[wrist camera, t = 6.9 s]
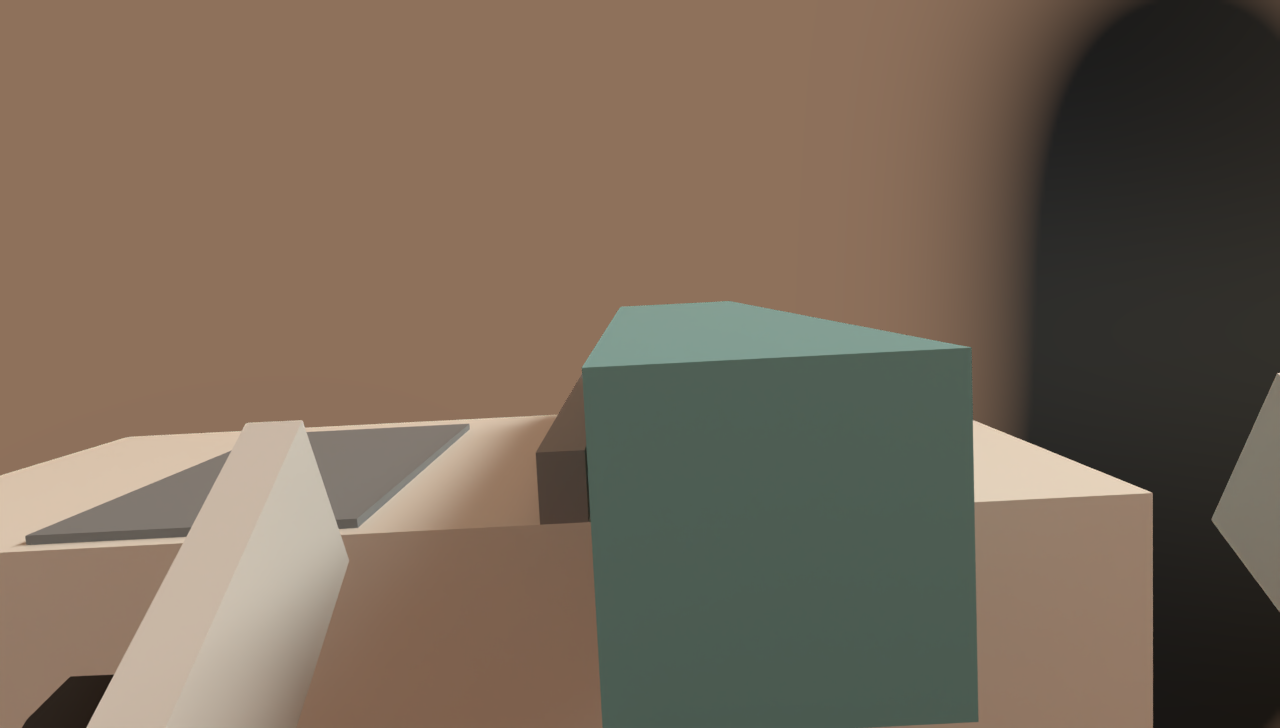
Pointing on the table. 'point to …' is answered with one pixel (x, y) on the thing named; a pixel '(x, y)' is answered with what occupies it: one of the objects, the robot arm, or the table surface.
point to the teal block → (780, 521)
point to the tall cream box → (537, 575)
